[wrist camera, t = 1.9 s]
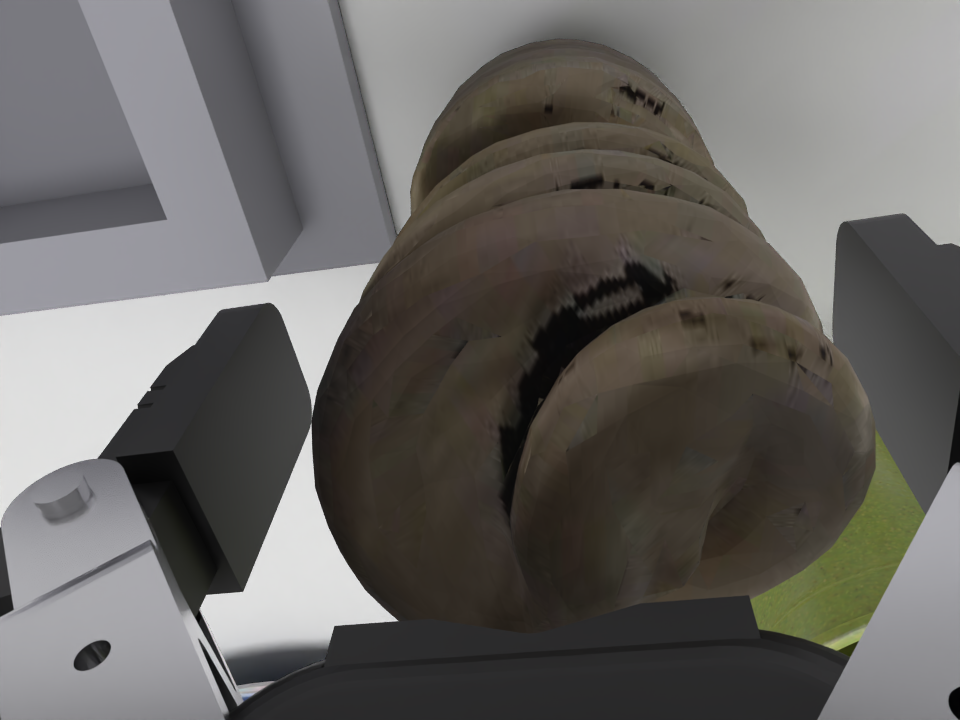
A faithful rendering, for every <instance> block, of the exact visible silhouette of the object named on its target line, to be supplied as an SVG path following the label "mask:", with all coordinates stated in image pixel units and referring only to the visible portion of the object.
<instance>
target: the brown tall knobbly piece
mask: <svg viewBox="0 0 960 720" xmlns="http://www.w3.org/2000/svg"><path fill="white" fill-rule="evenodd" d="M410 196H411V216H410V218H409V219H408V221H407V222H406V224H405V225H404V227H403V228H402V230H401V231H400V233H399V235H398V236H397V238H396V239H395V241H394V243H393V245H392V246H391V248H390V249H389V250H388V251H387V253H386V254H385V255H384V256H383V258H382V259H381V261H380V263H379V265H378V266H377V268H376V270H375V272H374V273H373V275H372V277H371V279H370V280H369V282H368V284H367V285H366V287H365V289H364V291H363V293H362V296H361V299H360V302H359V304H358V305H357V306H356V307H355V308H354V310H353V312H352V314H351V316H350V317H349V319H348V321H347V323H346V325H345V327H344V329H343V330H342V332H341V334H340V336H339V338H338V340H337V342H336V345H335V347H334V350H333V352H332V355H331V357H330V360H329V362H328V365H327V367H326V370H325V372H324V375H323V377H322V380H321V382H320V385H319V387H318V390H317V395H316V400H315V405H314V410H313V415H312V420H311V422H312V452H313V465H314V478H315V489H316V492H317V495H318V498H319V501H320V504H321V507H322V510H323V513H324V516H325V519H326V521H327V524H328V527H329V529H330V531H331V533H332V535H333V537H334V540H335V542H336V544H337V546H338V548H339V550H340V552H341V554H342V555H343V557H344V559H345V560H346V562H347V564H348V565H349V567H350V568H351V570H352V571H353V573H354V574H355V576H356V577H357V579H358V580H359V581H360V583H361V584H362V586H363V587H364V589H365V590H366V591H367V592H368V593H369V594H370V595H371V596H372V597H373V598H374V599H375V600H376V601H377V602H378V603H379V604H380V605H381V606H382V607H383V608H384V609H386V610H387V611H388V612H389V613H390V614H391V615H392V616H394V617H395V618H396V619H397V620H398V621H409V620H423V619H434V620H440V621H447V622H453V623H460V624H466V625H473V626H479V627H486V628H492V629H499V630H505V631H512V632H518V633H528V634H530V633H539V632H544V631H548V630H551V629H554V628H558V627H561V626H565V625H568V624H571V623H575V622H578V621H582V620H585V619H589V618H592V617H595V616H599V615H602V614H606V613H609V612H613V611H616V610H619V609H623V608H626V607H630V606H633V605H637V604H640V603H651V602H665V601H678V600H692V599H705V598H719V597H732V596H745V595H749V597H750V600H751V599H753V598H755V597H757V596H759V595H761V594H763V593H765V592H766V591H768V590H770V589H772V588H774V587H775V586H777V585H779V584H781V583H782V582H784V581H786V580H788V579H789V578H791V577H793V576H795V575H796V574H798V573H800V572H801V571H803V570H804V569H805V568H807V567H808V566H809V565H810V564H812V563H813V562H814V561H815V560H817V559H818V558H819V557H820V556H822V555H823V554H824V553H825V552H827V551H828V550H829V549H830V548H832V546H833V545H834V544H835V542H836V541H837V539H838V538H839V537H840V535H841V534H842V532H843V531H844V529H845V528H846V526H847V525H848V524H849V522H850V521H851V519H852V518H853V516H854V515H855V514H856V512H857V511H858V509H859V508H860V506H861V505H862V504H863V502H864V500H865V497H866V494H867V491H868V488H869V485H870V483H871V480H872V477H873V474H874V471H875V468H876V441H875V421H874V417H873V414H872V410H871V407H870V403H869V399H868V396H867V394H866V392H865V390H864V389H863V387H862V385H861V383H860V381H859V379H858V377H857V375H856V373H855V372H854V370H853V368H852V366H851V364H850V362H849V360H848V358H847V357H846V356H845V355H844V354H843V353H842V352H841V351H840V350H839V349H838V348H837V347H836V346H835V345H834V344H833V343H832V342H831V341H830V340H829V339H828V338H827V337H826V336H825V335H824V334H823V329H822V323H821V321H820V319H819V317H818V314H817V312H816V310H815V308H814V306H813V304H812V301H811V299H810V297H809V295H808V293H807V290H806V288H805V286H804V284H803V282H802V280H801V278H800V277H799V276H798V275H797V274H796V273H795V271H794V270H793V269H792V268H791V267H790V266H789V265H788V264H787V263H786V262H785V260H784V259H783V258H782V257H781V256H780V255H779V254H778V253H777V252H776V251H775V249H774V248H773V247H772V246H771V245H770V244H768V243H767V242H766V240H765V238H764V236H763V234H762V233H761V231H760V229H759V228H758V227H757V226H756V225H755V224H754V223H753V221H752V220H751V219H750V218H749V217H748V212H747V208H746V204H745V202H744V200H743V198H742V197H741V196H740V195H739V194H738V193H737V192H736V190H735V189H734V188H733V187H732V186H731V185H730V183H729V182H728V181H727V180H726V179H725V178H724V177H723V175H722V174H721V173H720V172H719V171H718V170H717V169H716V167H715V166H714V163H713V161H712V158H711V156H710V154H709V152H708V150H707V148H706V146H705V144H704V142H703V140H702V138H701V136H700V133H699V131H698V129H697V127H696V126H695V124H694V122H693V120H692V118H691V117H690V115H689V114H688V113H687V111H686V110H685V109H684V107H683V106H682V105H681V103H680V102H679V101H678V99H677V98H676V97H675V96H674V95H673V94H672V93H671V92H670V91H669V90H668V89H667V88H666V87H665V86H664V84H663V83H662V82H661V81H660V80H659V79H658V78H657V76H656V75H655V74H653V73H652V72H651V71H649V70H648V69H647V68H646V67H644V66H643V65H641V64H640V63H638V62H637V61H635V60H634V59H632V58H631V57H629V56H626V55H624V54H622V53H620V52H618V51H616V50H614V49H611V48H609V47H607V46H605V45H601V44H596V43H591V42H586V41H581V40H574V39H554V40H547V41H540V42H534V43H529V44H527V45H524V46H521V47H518V48H516V49H513V50H510V51H508V52H505V53H502V54H500V55H499V56H497V57H496V58H494V59H493V60H491V61H490V62H488V63H487V64H485V65H484V66H483V67H481V68H480V69H479V70H478V71H477V72H476V73H475V74H473V75H472V76H471V77H470V78H469V79H468V80H467V81H466V82H464V83H463V84H462V85H461V86H460V87H459V88H458V90H457V91H456V93H455V94H454V96H453V97H452V99H451V100H450V102H449V103H448V105H447V106H446V107H445V109H444V110H443V112H442V113H441V115H440V116H439V117H438V119H437V120H436V121H435V123H434V125H433V127H432V129H431V131H430V133H429V135H428V138H427V140H426V142H425V144H424V147H423V150H422V153H421V156H420V159H419V162H418V164H417V167H416V170H415V172H414V175H413V179H412V185H411V191H410Z"/></svg>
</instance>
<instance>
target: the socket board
mask: <svg viewBox="0 0 960 720" xmlns="http://www.w3.org/2000/svg"><path fill="white" fill-rule="evenodd" d="M396 238H397V236H396V232H395V228H394V224H393V220H392V216H391V212H390V208H389V204H388V200H387V196H386V192H385V188H384V184H383V180H382V176H381V172H380V168H379V164H378V160H377V156H376V152H375V148H374V144H373V140H372V136H371V132H370V128H369V124H368V120H367V116H366V112H365V108H364V104H363V100H362V96H361V92H360V88H359V84H358V80H357V76H356V72H355V68H354V64H353V60H352V56H351V52H350V48H349V44H348V40H347V36H346V32H345V28H344V24H343V20H342V16H341V12H340V8H339V4H338V0H0V316H2V315H10V314H18V313H25V312H33V311H41V310H49V309H57V308H65V307H73V306H80V305H88V304H96V303H104V302H112V301H120V300H128V299H135V298H143V297H151V296H159V295H167V294H175V293H183V292H190V291H198V290H206V289H214V288H222V287H230V286H238V285H245V284H253V283H261V282H268V281H269V279H270V278H271V276H278V275H286V274H294V273H302V272H310V271H317V270H325V269H333V268H341V267H349V266H356V265H364V264H372V263H380V261H381V259H382V258H383V256H384V255H385V254H386V253H387V251H388V250H389V249H390V248H391V246H392V245H393V243H394V241H395V239H396Z"/></svg>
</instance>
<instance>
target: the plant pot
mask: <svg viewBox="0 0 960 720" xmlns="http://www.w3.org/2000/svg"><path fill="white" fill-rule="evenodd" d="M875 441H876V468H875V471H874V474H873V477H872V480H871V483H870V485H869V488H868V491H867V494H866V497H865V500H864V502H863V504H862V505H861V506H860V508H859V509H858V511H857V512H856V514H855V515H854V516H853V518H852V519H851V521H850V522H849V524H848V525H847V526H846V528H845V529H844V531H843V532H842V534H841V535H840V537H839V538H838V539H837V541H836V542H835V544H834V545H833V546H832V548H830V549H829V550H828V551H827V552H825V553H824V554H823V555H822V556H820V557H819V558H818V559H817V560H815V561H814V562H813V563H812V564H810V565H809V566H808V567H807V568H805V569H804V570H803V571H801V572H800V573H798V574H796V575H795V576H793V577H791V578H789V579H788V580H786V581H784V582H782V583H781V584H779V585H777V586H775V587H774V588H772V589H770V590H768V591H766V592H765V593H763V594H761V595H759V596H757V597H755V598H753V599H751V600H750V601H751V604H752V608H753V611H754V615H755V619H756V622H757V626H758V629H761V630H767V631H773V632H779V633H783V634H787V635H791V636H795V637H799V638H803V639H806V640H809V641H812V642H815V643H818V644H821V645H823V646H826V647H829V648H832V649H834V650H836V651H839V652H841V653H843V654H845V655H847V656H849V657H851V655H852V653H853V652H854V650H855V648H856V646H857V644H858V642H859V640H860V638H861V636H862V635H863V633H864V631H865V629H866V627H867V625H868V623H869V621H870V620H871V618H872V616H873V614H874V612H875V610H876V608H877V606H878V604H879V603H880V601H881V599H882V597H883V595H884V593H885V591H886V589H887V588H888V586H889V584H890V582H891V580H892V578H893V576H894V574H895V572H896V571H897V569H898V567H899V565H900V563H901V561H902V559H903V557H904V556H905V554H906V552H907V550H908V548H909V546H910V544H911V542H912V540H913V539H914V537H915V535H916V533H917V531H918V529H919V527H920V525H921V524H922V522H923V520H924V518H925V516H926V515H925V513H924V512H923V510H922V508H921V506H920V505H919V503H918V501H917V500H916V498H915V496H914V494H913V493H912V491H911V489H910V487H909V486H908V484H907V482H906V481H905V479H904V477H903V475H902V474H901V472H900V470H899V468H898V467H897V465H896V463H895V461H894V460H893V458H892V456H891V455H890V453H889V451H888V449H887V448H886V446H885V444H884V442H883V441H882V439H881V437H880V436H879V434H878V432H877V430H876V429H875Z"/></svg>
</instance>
